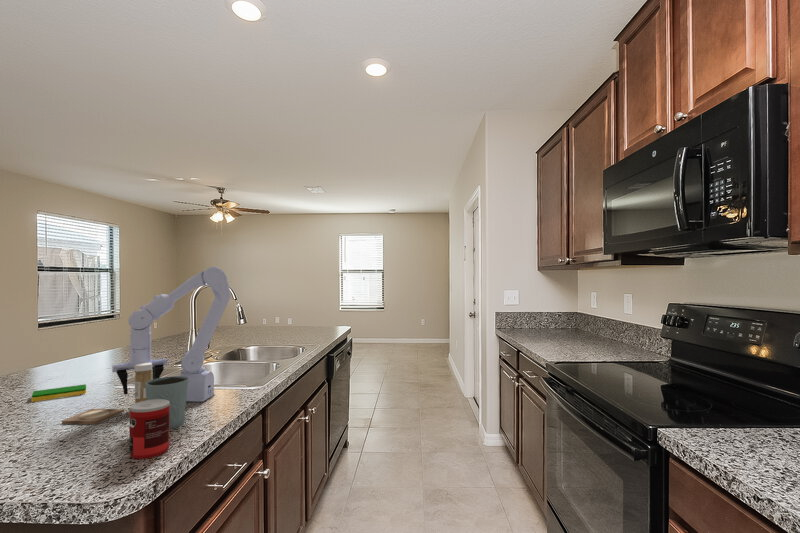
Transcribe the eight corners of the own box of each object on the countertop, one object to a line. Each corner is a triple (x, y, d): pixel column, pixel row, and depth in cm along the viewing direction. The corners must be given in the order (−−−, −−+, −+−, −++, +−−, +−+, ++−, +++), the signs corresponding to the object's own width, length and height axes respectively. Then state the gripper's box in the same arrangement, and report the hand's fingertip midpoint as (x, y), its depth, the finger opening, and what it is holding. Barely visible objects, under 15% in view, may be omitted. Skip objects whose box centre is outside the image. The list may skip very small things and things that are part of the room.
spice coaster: (124, 411, 120) (124, 408, 120) (97, 424, 110) (97, 421, 110) (91, 411, 120) (91, 408, 120) (61, 423, 110) (62, 420, 110)
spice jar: (152, 408, 123) (152, 364, 123) (134, 411, 120) (134, 366, 121) (151, 404, 127) (152, 361, 127) (134, 407, 124) (134, 363, 124)
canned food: (140, 445, 96) (141, 399, 96) (175, 444, 96) (176, 398, 97) (121, 460, 88) (121, 409, 88) (159, 459, 89) (159, 408, 89)
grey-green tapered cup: (142, 434, 103) (143, 387, 103) (146, 421, 112) (147, 378, 112) (187, 427, 108) (188, 382, 108) (187, 415, 116) (188, 374, 117)
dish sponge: (33, 398, 135) (33, 390, 135) (86, 390, 143) (86, 384, 143) (31, 403, 129) (31, 395, 129) (85, 395, 138) (86, 388, 138)
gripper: (163, 344, 135) (163, 384, 135) (111, 349, 126) (110, 393, 125) (168, 346, 130) (168, 389, 130) (114, 352, 121) (113, 398, 120)
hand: (140, 391), depth 127 cm, fingers open, 7 cm apart
